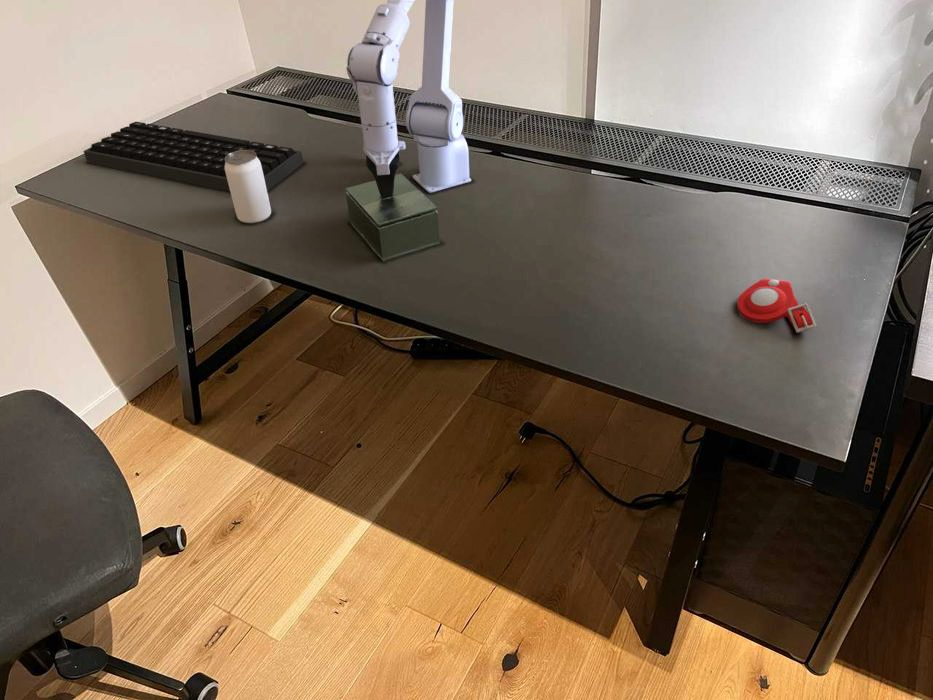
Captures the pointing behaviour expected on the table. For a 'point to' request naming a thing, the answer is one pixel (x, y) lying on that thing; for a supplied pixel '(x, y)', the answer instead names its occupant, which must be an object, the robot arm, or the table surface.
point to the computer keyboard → (186, 155)
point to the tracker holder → (774, 304)
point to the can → (247, 186)
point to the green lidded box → (396, 224)
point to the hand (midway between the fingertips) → (386, 194)
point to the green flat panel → (370, 191)
